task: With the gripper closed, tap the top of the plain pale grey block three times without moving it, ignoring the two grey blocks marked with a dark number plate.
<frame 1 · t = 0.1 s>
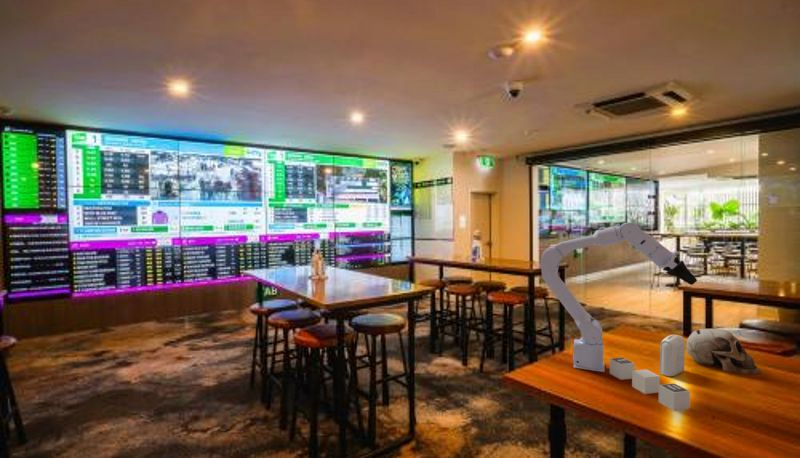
hand: (691, 280, 123), 32 cm above the table, tool tilted 50°, fingers open, 7 cm apart
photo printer: (672, 372, 132), on the table
grey skull: (721, 366, 137), on the table
marked block 2: (673, 405, 110), on the table
plain block: (645, 389, 120), on the table
marked block 1: (621, 375, 130), on the table
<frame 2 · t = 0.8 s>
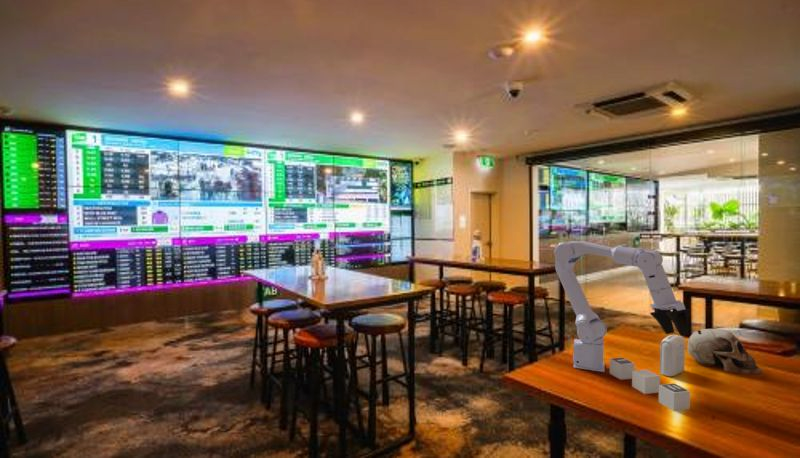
hand: (677, 334, 118), 17 cm above the table, tool tilted 20°, fingers open, 7 cm apart
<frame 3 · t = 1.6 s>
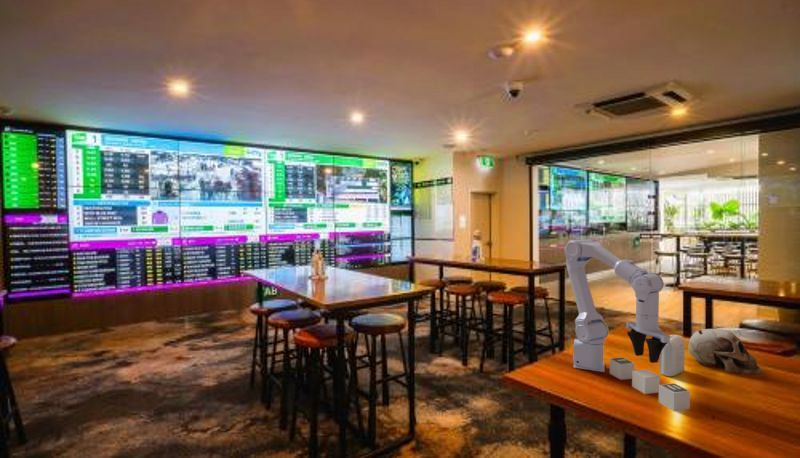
hand: (646, 358, 120), 9 cm above the table, tool pointing down, fingers open, 5 cm apart
nothing on the table moved.
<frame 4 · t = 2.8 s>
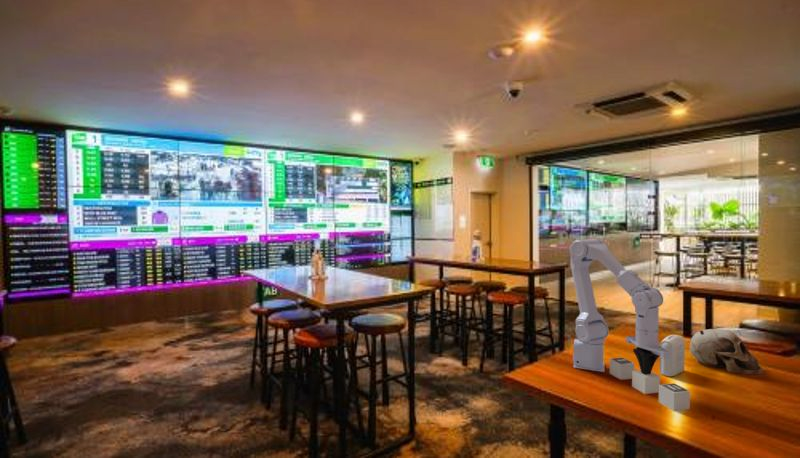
hand: (646, 373, 120), 5 cm above the table, tool pointing down, fingers closed, pressing on plain block
plain block: (645, 389, 120), on the table, touching gripper
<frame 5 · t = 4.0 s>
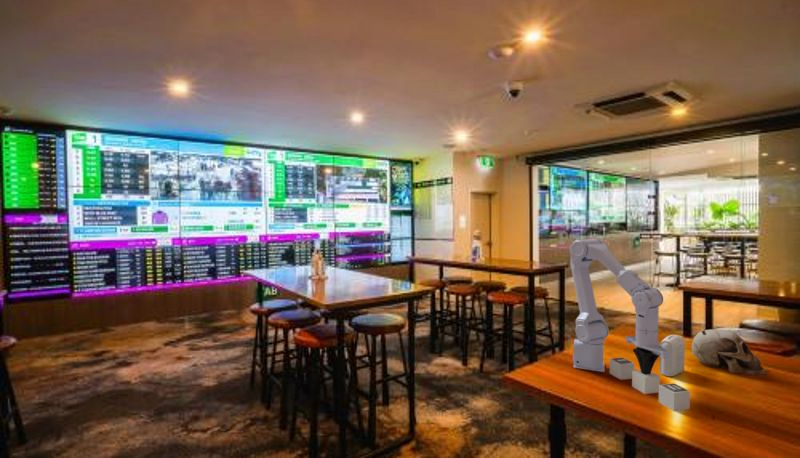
hand: (645, 373, 120), 5 cm above the table, tool pointing down, fingers closed, pressing on plain block
plain block: (645, 389, 120), on the table, touching gripper
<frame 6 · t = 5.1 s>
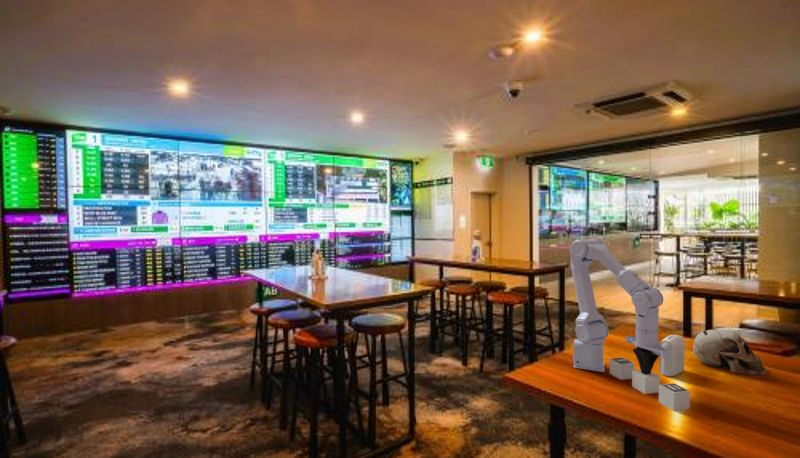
hand: (645, 373, 120), 5 cm above the table, tool pointing down, fingers closed
plain block: (645, 389, 120), on the table
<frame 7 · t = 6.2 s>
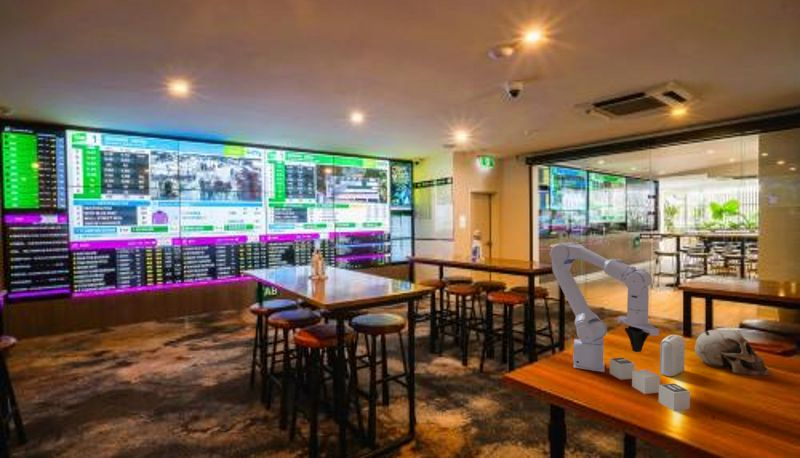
hand: (636, 351, 126), 9 cm above the table, tool pointing down, fingers closed
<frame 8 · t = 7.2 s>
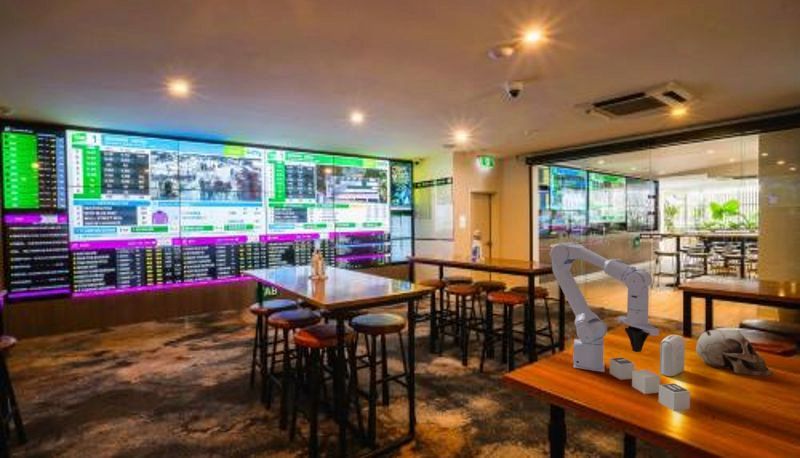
hand: (636, 351, 126), 9 cm above the table, tool pointing down, fingers closed
at the end: plain block moved 0.1 cm from its start; plain block tilted 0°; marked block 1 moved 0.1 cm from its start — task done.
